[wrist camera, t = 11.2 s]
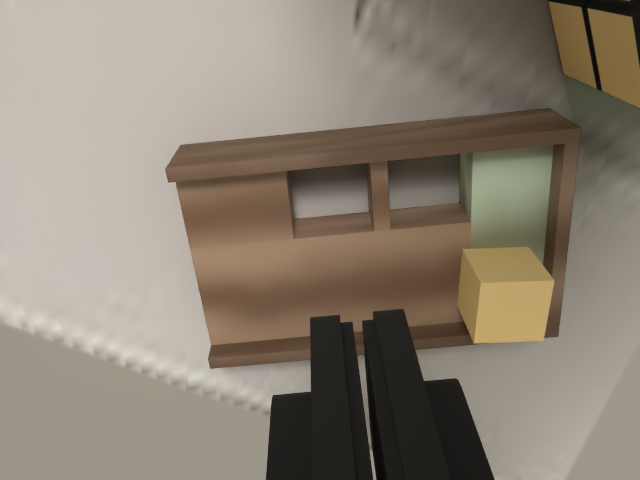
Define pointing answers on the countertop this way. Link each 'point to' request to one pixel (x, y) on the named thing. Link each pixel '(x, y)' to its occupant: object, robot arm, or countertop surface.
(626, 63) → the puzzle cube
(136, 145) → the countertop surface
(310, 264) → the box
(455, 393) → the robot arm
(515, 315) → the block
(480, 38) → the countertop surface
